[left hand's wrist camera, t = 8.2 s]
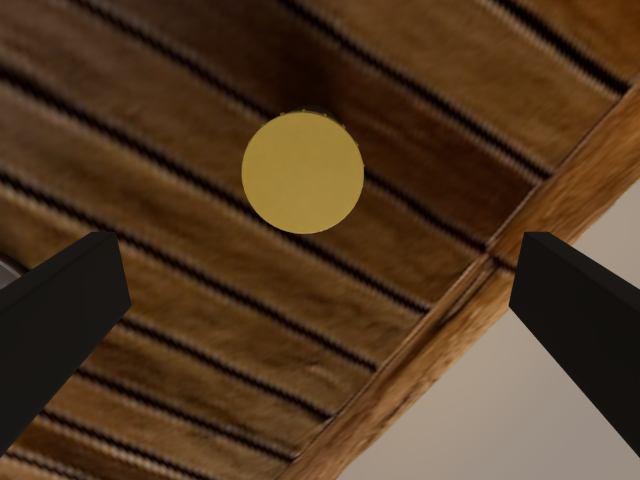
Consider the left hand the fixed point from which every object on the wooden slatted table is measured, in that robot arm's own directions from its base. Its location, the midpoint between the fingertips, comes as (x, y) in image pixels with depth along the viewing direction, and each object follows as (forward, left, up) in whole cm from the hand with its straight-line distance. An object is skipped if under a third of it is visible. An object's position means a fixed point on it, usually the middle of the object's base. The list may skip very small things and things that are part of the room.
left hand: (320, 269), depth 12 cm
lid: (-1, +1, -7) cm, 8 cm away
